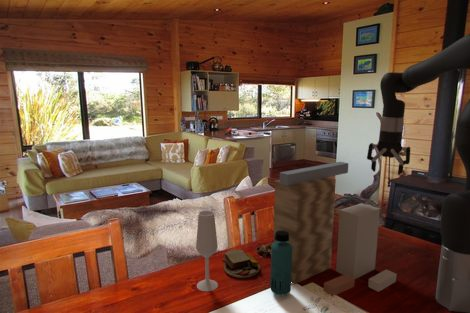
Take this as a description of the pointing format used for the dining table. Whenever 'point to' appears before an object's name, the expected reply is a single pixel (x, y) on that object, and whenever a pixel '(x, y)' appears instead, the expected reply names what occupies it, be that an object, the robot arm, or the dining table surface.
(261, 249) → the pastry
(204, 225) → the champagne flute
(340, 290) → the brown rectangular block
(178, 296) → the dining table surface
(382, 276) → the beige rectangular block
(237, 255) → the toy sandwich meal
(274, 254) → the beverage bottle
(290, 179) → the gray bar
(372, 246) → the cream stand
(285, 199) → the oak stand
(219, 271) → the dining table surface
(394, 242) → the dining table surface
